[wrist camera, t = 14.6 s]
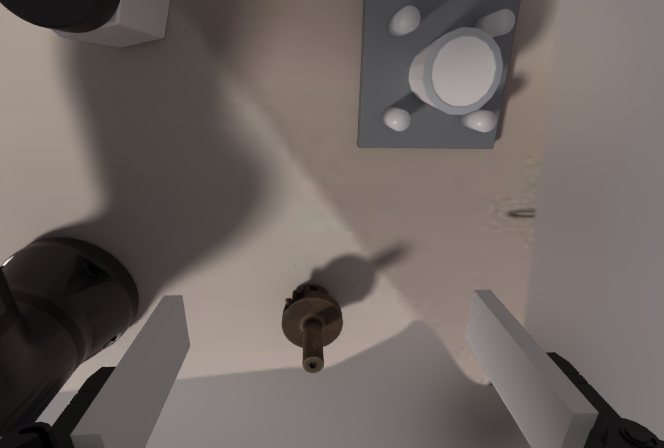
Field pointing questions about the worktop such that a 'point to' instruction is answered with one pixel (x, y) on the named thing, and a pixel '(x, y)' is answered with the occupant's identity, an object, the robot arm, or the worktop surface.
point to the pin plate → (394, 64)
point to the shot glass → (457, 71)
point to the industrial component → (312, 324)
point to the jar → (97, 19)
